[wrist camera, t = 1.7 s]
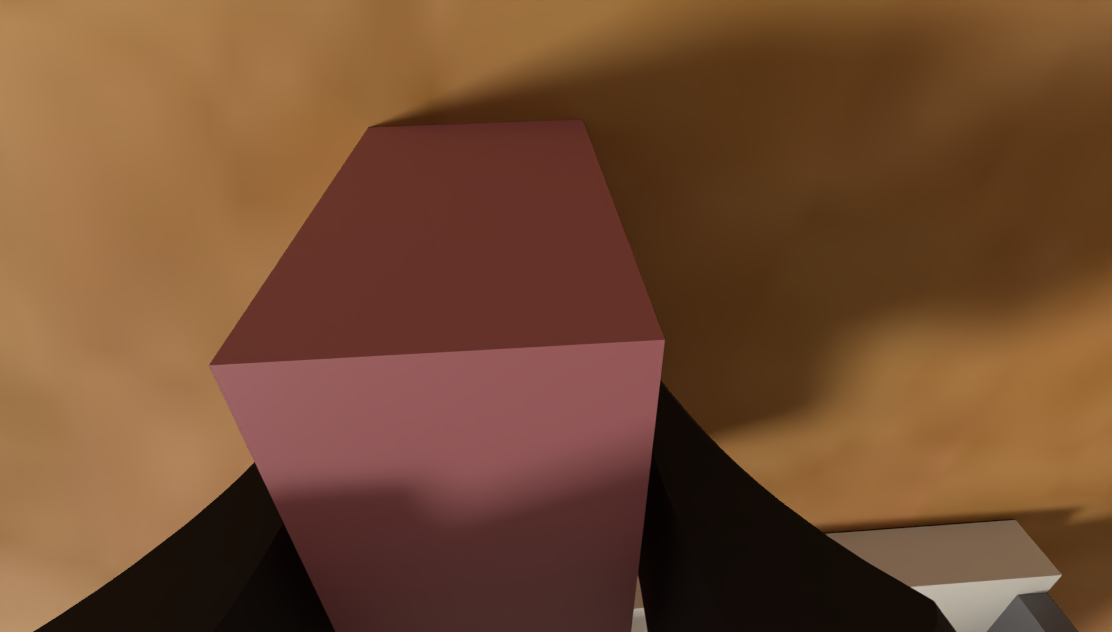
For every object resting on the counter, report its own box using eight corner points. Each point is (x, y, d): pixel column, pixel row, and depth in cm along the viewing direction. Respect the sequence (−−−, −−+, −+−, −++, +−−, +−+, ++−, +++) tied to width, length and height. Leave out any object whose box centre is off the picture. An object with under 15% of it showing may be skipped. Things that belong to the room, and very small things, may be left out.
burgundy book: (440, 477, 16) (404, 777, 11) (369, 125, 11) (208, 365, 5) (579, 467, 17) (616, 757, 11) (582, 117, 11) (665, 339, 5)
